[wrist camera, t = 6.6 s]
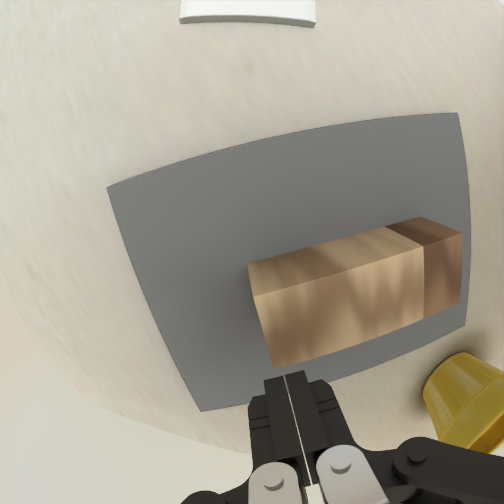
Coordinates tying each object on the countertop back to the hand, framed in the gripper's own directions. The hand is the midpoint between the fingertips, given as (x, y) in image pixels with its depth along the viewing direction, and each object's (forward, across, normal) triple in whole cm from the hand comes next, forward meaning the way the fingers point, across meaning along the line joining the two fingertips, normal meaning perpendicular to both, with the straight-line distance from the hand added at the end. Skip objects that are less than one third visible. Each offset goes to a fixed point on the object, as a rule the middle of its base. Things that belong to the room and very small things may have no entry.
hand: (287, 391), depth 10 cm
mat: (+9, -5, 0) cm, 11 cm away
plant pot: (+10, -16, +16) cm, 25 cm away
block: (+6, 0, 0) cm, 7 cm away
